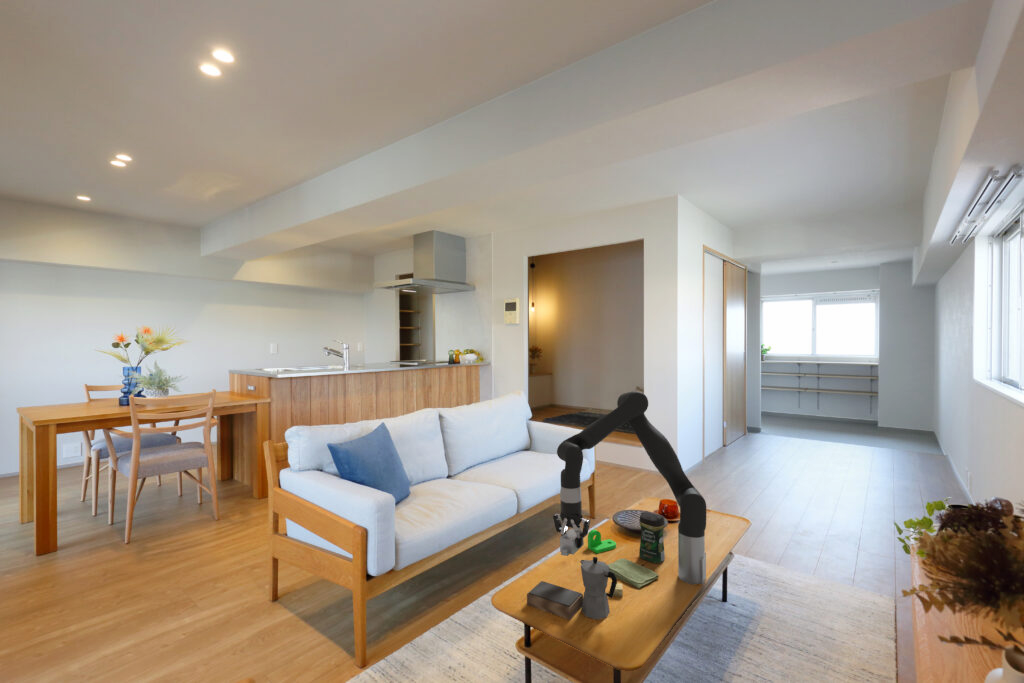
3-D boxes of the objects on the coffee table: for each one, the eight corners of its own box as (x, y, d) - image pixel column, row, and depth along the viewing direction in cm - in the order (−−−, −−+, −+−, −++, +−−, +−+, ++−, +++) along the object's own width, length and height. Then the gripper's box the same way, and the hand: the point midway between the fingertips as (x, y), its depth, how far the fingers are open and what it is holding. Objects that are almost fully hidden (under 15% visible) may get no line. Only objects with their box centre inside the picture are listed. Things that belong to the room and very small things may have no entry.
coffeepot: (570, 608, 156) (570, 554, 156) (589, 598, 162) (589, 546, 162) (607, 630, 145) (606, 572, 144) (626, 618, 150) (626, 562, 150)
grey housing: (585, 542, 173) (585, 529, 173) (570, 557, 162) (570, 542, 162) (573, 540, 175) (573, 526, 175) (557, 553, 164) (557, 539, 164)
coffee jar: (636, 558, 192) (636, 512, 192) (646, 552, 198) (645, 507, 197) (658, 566, 185) (658, 519, 185) (667, 559, 191) (667, 513, 191)
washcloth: (640, 592, 167) (640, 583, 167) (600, 573, 181) (600, 564, 181) (660, 579, 176) (660, 571, 176) (621, 562, 189) (621, 554, 189)
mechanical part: (596, 555, 196) (596, 535, 196) (587, 549, 201) (587, 530, 201) (619, 548, 201) (618, 530, 201) (609, 543, 207) (609, 525, 206)
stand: (583, 605, 158) (582, 592, 158) (570, 620, 149) (570, 607, 149) (541, 592, 167) (541, 579, 167) (526, 605, 158) (526, 592, 158)
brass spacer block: (622, 592, 167) (622, 583, 167) (622, 598, 163) (622, 589, 163) (610, 591, 167) (610, 582, 167) (610, 597, 164) (610, 588, 163)
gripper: (593, 498, 168) (594, 546, 168) (557, 492, 176) (558, 537, 176) (585, 505, 162) (586, 554, 162) (548, 498, 169) (549, 545, 169)
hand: (571, 545), depth 169 cm, fingers closed on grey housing, 5 cm apart
